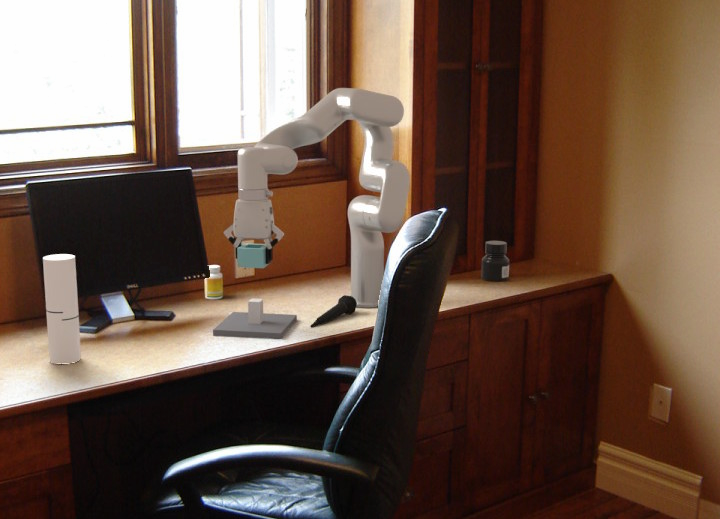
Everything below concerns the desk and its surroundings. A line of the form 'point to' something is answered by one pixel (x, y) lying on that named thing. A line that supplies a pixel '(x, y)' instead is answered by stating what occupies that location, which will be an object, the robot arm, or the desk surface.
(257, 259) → the teal hollow cube
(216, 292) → the supplement bottle
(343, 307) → the microphone
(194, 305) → the desk surface
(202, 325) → the desk surface
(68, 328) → the cylindrical container
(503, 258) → the ink bottle
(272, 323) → the post board
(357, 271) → the robot arm
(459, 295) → the desk surface
